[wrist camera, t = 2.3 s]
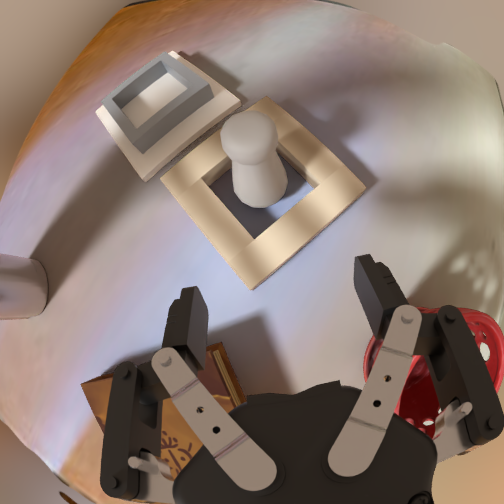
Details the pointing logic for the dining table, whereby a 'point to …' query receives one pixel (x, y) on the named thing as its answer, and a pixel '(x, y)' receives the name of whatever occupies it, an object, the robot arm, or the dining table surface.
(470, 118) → the dining table surface
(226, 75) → the dining table surface
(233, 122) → the salt shaker
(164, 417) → the diary
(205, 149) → the birch holder block
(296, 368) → the dining table surface
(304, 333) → the dining table surface
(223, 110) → the socket plate
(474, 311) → the plant pot
